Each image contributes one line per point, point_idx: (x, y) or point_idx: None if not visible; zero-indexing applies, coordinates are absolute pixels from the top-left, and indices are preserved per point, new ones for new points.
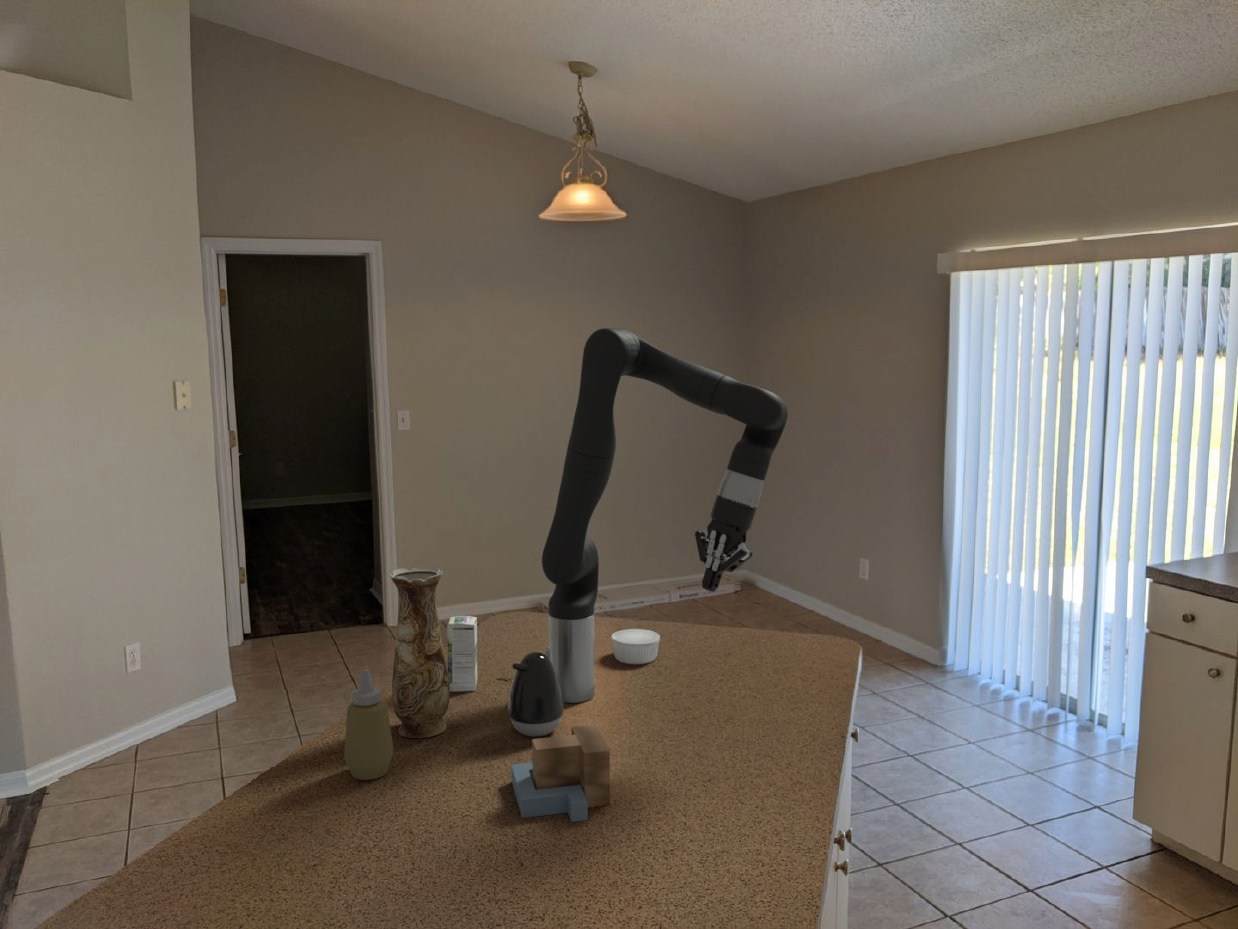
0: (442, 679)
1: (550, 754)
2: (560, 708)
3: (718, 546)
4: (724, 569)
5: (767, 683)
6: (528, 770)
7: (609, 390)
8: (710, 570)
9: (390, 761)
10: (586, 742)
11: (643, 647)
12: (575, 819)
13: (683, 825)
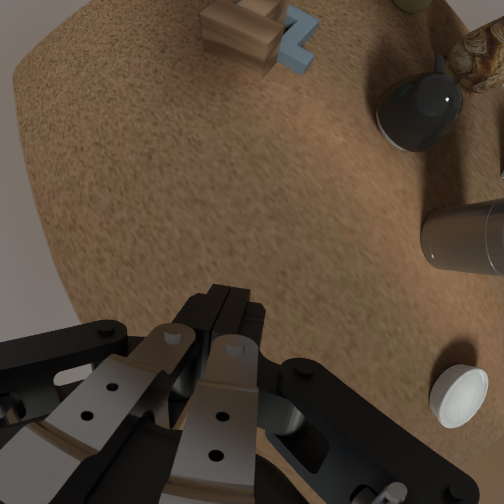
0: (474, 52)
1: None
2: (385, 120)
3: (114, 425)
4: (93, 322)
5: (271, 451)
6: (296, 19)
7: None
8: (210, 330)
9: (400, 2)
10: (236, 10)
11: (445, 388)
12: None
13: (123, 73)
